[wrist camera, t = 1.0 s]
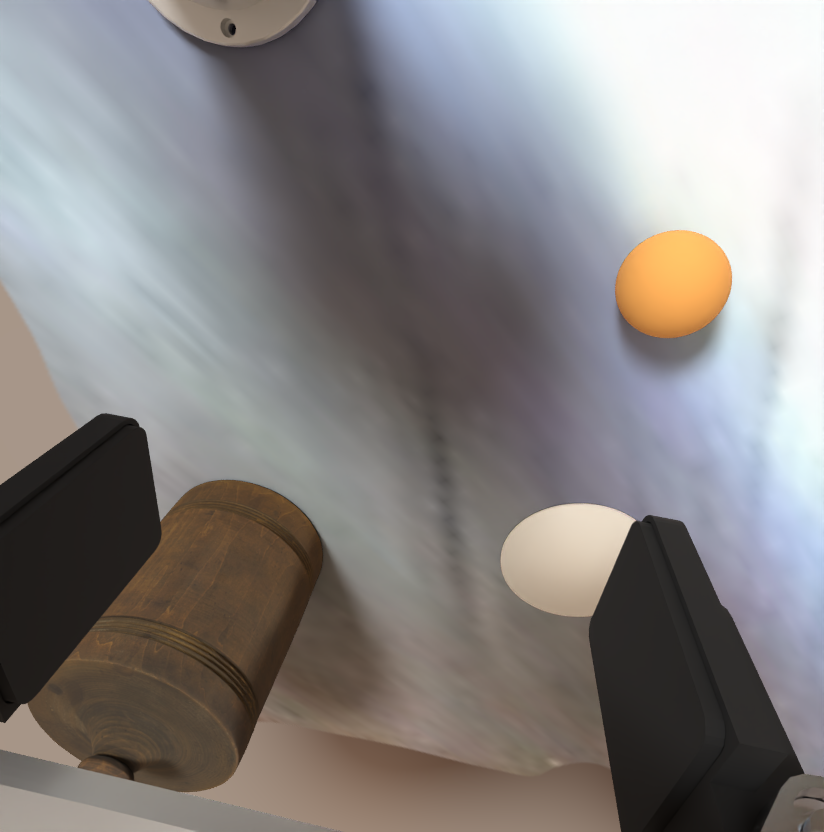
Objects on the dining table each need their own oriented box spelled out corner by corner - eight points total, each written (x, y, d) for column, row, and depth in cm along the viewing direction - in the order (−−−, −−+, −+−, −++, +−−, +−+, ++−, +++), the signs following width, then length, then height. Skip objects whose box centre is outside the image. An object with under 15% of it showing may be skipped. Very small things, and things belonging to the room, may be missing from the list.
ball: (619, 218, 32) (643, 237, 26) (724, 225, 31) (769, 247, 26) (597, 314, 35) (614, 348, 29) (692, 322, 34) (727, 358, 29)
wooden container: (154, 474, 47) (-76, 711, 28) (312, 482, 45) (177, 745, 26) (195, 590, 55) (33, 841, 36) (332, 602, 52) (238, 876, 33)
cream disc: (511, 493, 43) (511, 495, 43) (677, 514, 41) (678, 516, 41) (492, 603, 49) (492, 605, 49) (635, 624, 48) (635, 626, 48)
